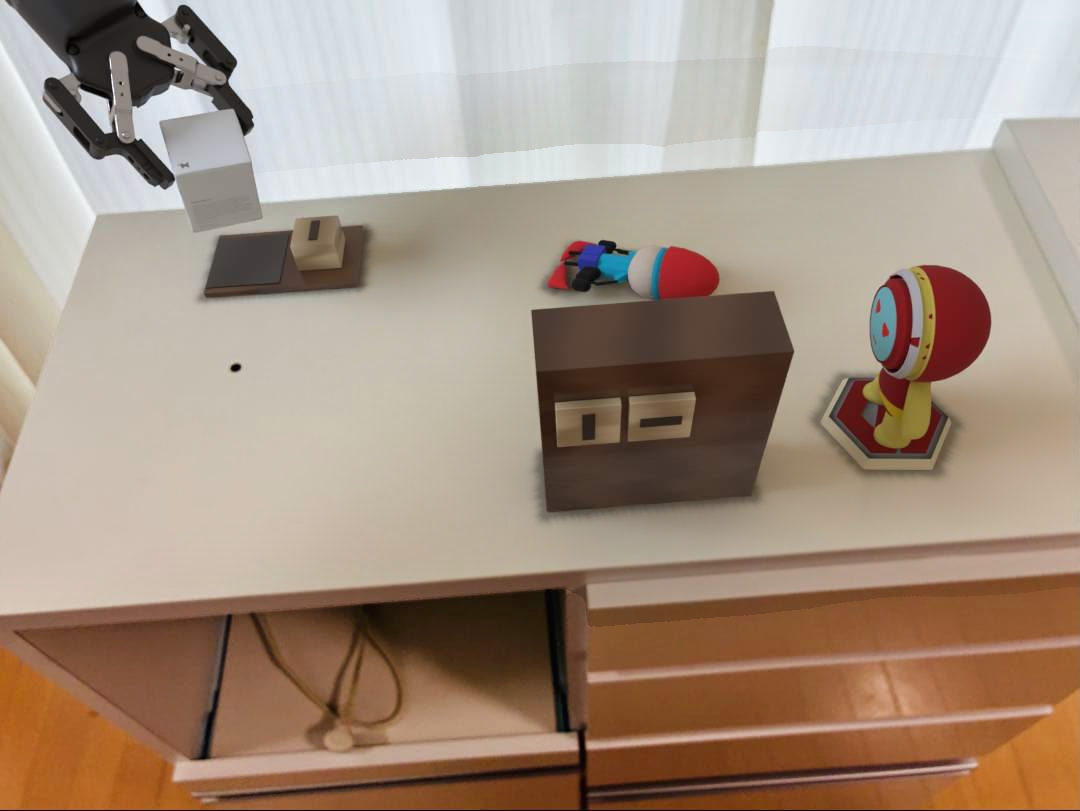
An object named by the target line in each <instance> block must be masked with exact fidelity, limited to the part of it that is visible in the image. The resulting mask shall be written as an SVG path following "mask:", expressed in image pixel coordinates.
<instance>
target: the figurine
mask: <svg viewBox="0 0 1080 811" xmlns="http://www.w3.org/2000/svg"><path fill="white" fill-rule="evenodd" d="M991 329H992V313H991V307H990V304H989V301H988V299H987V297H986V295H985V294H984V291H983V290H982V289H981V287H980V286H979V285H978V284H977V283H976V282H975V281H974V280H973V279H972V278H970V277H969V276H968V275H966V274H964V273H963V272H962V271H960V270H957V269H954V268H951V267H950V266H949V267H948V266H943V265H939V264H921V265H917V266H912V267H910V268H901V269H899V270H897V271H895V272H893V273H892V274H891V275H889V276H888V277H887V279H886V280H885V282H884V284H882V285H881V286H880V287H878V289H877V290H876V292H875V294H874V297H873V300H872V303H871V308H870V314H869V341H870V348H871V351H872V354H873V357H874V358H875V360H876V362H878V363H880V365H881V369H880V370H879V371H878V374H877V375H876V376H875V377H847V378H843V379H841V382H840V384H839V386H838V387H837V390H836V392H835V393H834V395H833V397H832V399H831V401H830V403H829V404H828V406H827V408H826V410H825V412H824V414H823V416H822V418H821V420H820V422H819V424H820V425H821V426H822V427H823V428H824V429H825V430H826V431H827V432H828V433H829V434H830V436H831V437H832V438H833V439H834V440H835V441H836V442H837V443H838V444H839V445H840V446H841V447H842V448H843V450H845V451H846V453H847V454H849V456H850V457H851V458H852V459H853V460H854V461H855V462H856V463H857V465H859V467H861V469H862V470H873V471H875V470H879V471H881V470H882V471H883V470H884V471H885V470H887V471H890V470H891V471H933V469H934V467H935V465H936V462H937V460H938V458H939V454H940V452H941V450H942V447H943V445H944V442H945V440H946V438H947V435H948V433H949V430H950V428H951V426H952V421H951V418H950V416H948V414H946V413H945V412H944V411H943V410H942V409H941V408H940V407H939V406H938V405H936V403H935V402H934V401H932V389H931V388H932V387H931V385H932V383H933V382H940V381H944V380H948V379H951V378H952V377H955V376H957V375H959V374H960V373H962V372H964V371H965V370H966V369H968V368H969V367H970V366H972V364H974V363H975V362H976V361H977V359H978V358H979V357H980V355H981V354H982V352H984V349H985V348H986V346H987V344H988V341H989V338H990V335H991Z"/></svg>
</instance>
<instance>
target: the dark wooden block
mask: <svg viewBox="0 0 1080 811" xmlns="http://www.w3.org/2000/svg"><path fill="white" fill-rule="evenodd" d="M530 314H531V327H532V339H533V340H532V341H533V352H534V354H533V355H534V365H535V380H536V391H537V404H538V417H539V429H540V440H541V442H540V443H541V444H540V445H541V454H542V467H543V470H542V471H543V481H544V482H543V483H544V493H545V494H544V495H545V506H546V507H545V508H546V512H549V513H550V512H563V511H575V510H577V511H578V510H588V509H600V508H601V509H602V508H613V507H614V508H615V507H625V506H640V505H653V504H654V505H655V504H665V503H678V502H689V501H690V502H691V501H704V500H705V501H706V500H715V499H717V500H718V499H728V498H729V499H730V498H742V497H752V495H753V491H754V487H755V484H756V481H757V478H758V475H759V474H758V473H759V470H760V468H761V465H762V461H763V458H764V455H765V452H766V447H767V444H768V441H769V437H770V434H771V431H772V427H773V424H774V420H775V418H776V414H777V411H778V408H779V404H780V401H781V398H782V394H783V392H784V388H785V384H786V380H787V377H788V374H789V370H790V368H791V364H792V362H793V361H792V360H793V358H794V354H795V348H794V346H793V343H792V339H791V336H790V333H789V331H788V328H787V326H786V321H785V319H784V316H783V313H782V310H781V307H780V304H779V301H778V298H777V295H776V292H775V290H770V291H769V290H768V291H755V292H754V291H753V292H742V293H728V294H717V295H710V296H702V297H689V298H676V299H663V300H654V299H652V300H651V299H650V300H638V301H637V300H636V301H625V302H613V303H612V302H611V303H599V304H588V305H587V304H585V305H575V306H573V305H572V306H562V307H561V306H560V307H548V308H536V309H531V311H530Z"/></svg>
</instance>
